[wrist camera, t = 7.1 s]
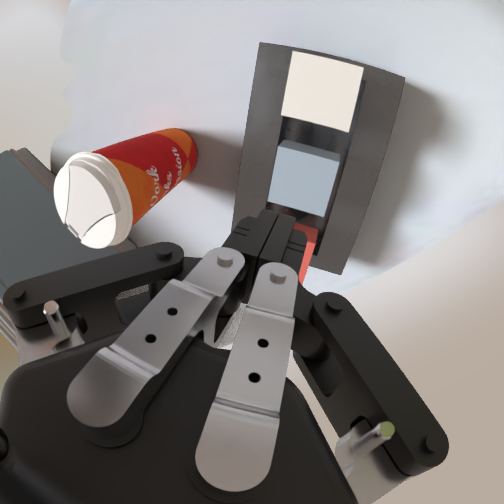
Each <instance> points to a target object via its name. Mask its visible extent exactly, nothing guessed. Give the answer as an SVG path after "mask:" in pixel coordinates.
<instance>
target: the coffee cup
mask: <svg viewBox="0 0 504 504" xmlns="http://www.w3.org/2000/svg"><path fill="white" fill-rule="evenodd" d="M197 158H198V152H197V147H196V144H195V142H194V141H193V139H192V138H191V136H190V135H189V134H187V133H186V132H184V131H183V130H180V129H176V128H170V129H164V130H160V131H156V132H152V133H149V134H145V135H142V136H138V137H135V138H132V139H129V140H125V141H122V142H119V143H116V144H113V145H110V146H107V147H105V148H102V149H99V150H96V151H93V152H80V153H77V154H75V155H73V156H72V157H71V158H70V159H68V161H67V162H66V164H65V165H64V167H63V168H62V169H61V170H60V171H59V173H58V174H57V177H56V179H55V183H54V199H55V204H56V208H57V211H58V214H59V216H60V218H61V220H62V222H63V224H65V223H66V224H67V225H68V229H69V230H70V231H71V232H72V233H73V234H74V235H75V236H76V238H77V237H79V238H80V239H81V240H82V241H81V243H82V244H84V245H86V246H88V247H91V248H105V247H107V246H112V245H117V244H119V243H121V242H122V241H124V240H125V238H126V237H127V236H128V234H129V232H130V230H131V227H132V226H133V225H134V224H135V223H136V222H137V221H138V220H139V219H140V218H142V217H143V216H144V215H145V214H146V213H147V212H148V211H149V210H150V209H151V208H152V207H153V206H154V205H155V204H157V203H158V202H159V201H160V200H161V199H162V198H163V197H164V196H165V195H166V194H167V193H169V192H170V191H171V190H172V189H173V188H174V187H175V186H176V185H177V184H179V183H180V182H181V181H182V180H183V179H184V178H185V177H186V176H187V175H188V174H189V173H190V172H191V171H192V170H193V169H194V167H195V165H196V163H197ZM82 238H83V239H82Z"/></svg>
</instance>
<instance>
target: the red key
mask: <svg viewBox="0 0 504 504" xmlns="http://www.w3.org/2000/svg"><path fill="white" fill-rule="evenodd" d="M294 229H297V230H300V231H303V232H305V234H306V236H307V238H308V241H307V245H306V249H305V253H304V257H303V260H302V264H301V268H300V272H299V281H300V283H301V285H302V284H303V281H304V278H305V275H306V272H307V269H308V266H309V263H310V260H311V256H312V253H313V250H314V247H315V244H316V239H317V234H318V229H315V228H312V227H309V226H305V225H302V224H299V223H297V222H295V225H294Z"/></svg>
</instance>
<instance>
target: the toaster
mask: <svg viewBox="0 0 504 504" xmlns="http://www.w3.org/2000/svg"><path fill="white" fill-rule="evenodd" d="M55 179H56V176H55V175H54V174H53V173H52V172H51V171H50V170H49V169H47V168H46V167H45V166H44V165H43V164H42V163H41V162H40V161H39V160H38V159H37V158H36V157H35V156H34V155H33V154H32V153H31V152H30V151H29V150H28V149H26V148H22V149H20V150H17V151H15V150H13V149H10V151H4V152H2V153H1V154H0V332H1V333H2V334H3V335H4V336H5V337H6V338H7V339H8V340H9V341H10V343H11V344H12V345H13V346H14V347H15V348H16V349H17V341H16V330H15V328H14V326H13V324H12V322H11V319H10V317H9V315H8V313H7V311H6V309H5V307H4V305H3V302H2V301H3V295H4V293H5V292H6V290H7V289H8V288H9V287H10V286H12V285H13V284H15V283H17V282H20V281H23V280H27V279H30V278H33V277H37V276H40V275H43V274H47V273H50V272H54V271H57V270H60V269H64V268H67V267H71V266H74V265H78V264H81V263H85V262H89V261H92V260H96V259H99V258H103V257H107V256H110V255H114V254H118V253H121V252H125V251H129V250H133V249H137V247H136V245H135V244H134V243H133V242H131V241H130V240H129V239H128V238H127V237H126V238H125V240H124V241H122V242H121V243H119V244H117V245H112V246H107V247H105V248H91V247H88V246H86V245H84V244H82V243H81V241H82V240H81V239H80V238H79V237H77V238H76V236H75V235H74V234H73V233H72V232H71V231H70V230H69V229H68V225H67V224H66V223H65V224H63V222H62V220H61V218H60V216H59V214H58V211H57V208H56V204H55V199H54V183H55ZM82 239H83V238H82ZM115 301H117V300H116V298H115Z"/></svg>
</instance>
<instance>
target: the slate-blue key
mask: <svg viewBox="0 0 504 504" xmlns="http://www.w3.org/2000/svg"><path fill="white" fill-rule="evenodd" d="M339 163H340V154H337V153H334V152H330V151H327V150H323V149H320V148H316V147H312V146H309V145H305V144H301V143H297V142H293V141H289V140H283V142H282V143H281V144H280V145H279V146H278V149H277V154H276V159H275V165H274V170H273V175H272V180H271V185H270V190H269V196H268V201H269V202H272V203H276V204H280V205H283V206H287V207H291V208H294V209H298V210H301V211H305V212H308V213H312V214H315V215H319V216H322V217H324V215H325V212H326V208H327V205H328V201H329V198H330V195H331V191H332V188H333V184H334V181H335V177H336V174H337V170H338V166H339Z"/></svg>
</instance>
